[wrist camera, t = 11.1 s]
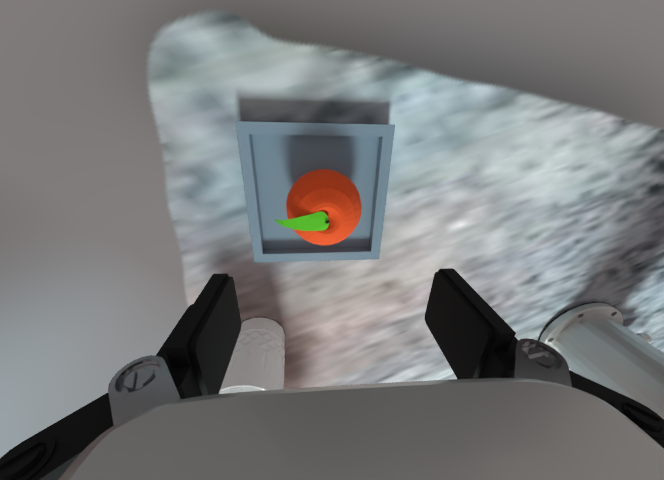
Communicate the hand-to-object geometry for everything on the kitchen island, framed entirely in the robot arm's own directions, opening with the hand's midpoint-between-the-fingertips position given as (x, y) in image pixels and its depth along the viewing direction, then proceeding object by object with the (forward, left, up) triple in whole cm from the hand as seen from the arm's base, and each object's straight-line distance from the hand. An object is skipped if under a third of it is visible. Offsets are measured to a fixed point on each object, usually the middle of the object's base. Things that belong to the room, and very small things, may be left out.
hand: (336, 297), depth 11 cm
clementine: (0, 0, -16) cm, 16 cm away
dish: (0, 0, -17) cm, 17 cm away
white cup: (+8, +20, -17) cm, 27 cm away
